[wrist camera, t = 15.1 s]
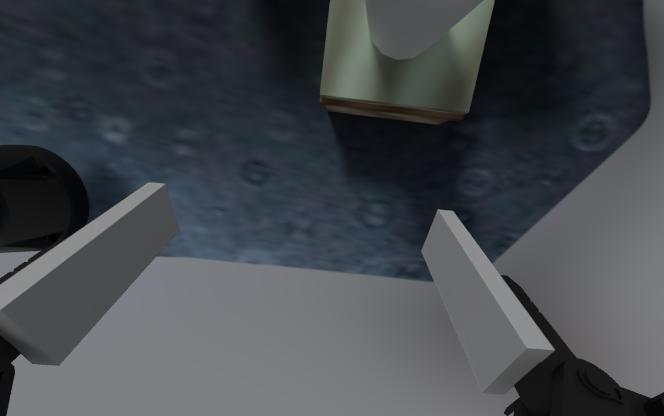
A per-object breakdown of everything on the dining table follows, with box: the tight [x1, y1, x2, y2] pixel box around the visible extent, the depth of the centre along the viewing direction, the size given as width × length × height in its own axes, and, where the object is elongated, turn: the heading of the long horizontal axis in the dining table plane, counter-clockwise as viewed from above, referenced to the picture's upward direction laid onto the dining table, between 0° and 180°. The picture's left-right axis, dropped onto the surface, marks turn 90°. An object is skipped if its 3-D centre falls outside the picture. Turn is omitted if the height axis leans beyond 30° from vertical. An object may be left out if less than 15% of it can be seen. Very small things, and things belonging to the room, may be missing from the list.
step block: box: [320, 0, 495, 125], centre depth 25 cm, size 14×14×8 cm
